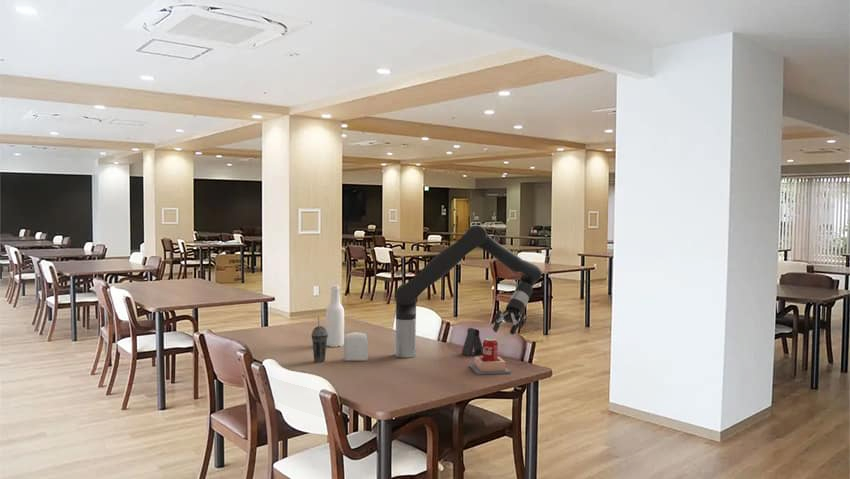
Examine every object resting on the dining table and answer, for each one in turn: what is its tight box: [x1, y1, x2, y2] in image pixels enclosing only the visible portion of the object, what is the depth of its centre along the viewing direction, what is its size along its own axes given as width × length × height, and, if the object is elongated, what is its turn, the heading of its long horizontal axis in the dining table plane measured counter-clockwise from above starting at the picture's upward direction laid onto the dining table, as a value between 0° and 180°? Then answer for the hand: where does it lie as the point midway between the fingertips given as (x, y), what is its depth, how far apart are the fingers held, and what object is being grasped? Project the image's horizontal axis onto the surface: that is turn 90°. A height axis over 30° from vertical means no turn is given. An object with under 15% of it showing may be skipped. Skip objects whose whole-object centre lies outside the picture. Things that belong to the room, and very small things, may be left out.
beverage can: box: [482, 337, 499, 362], centre depth 254 cm, size 6×6×12 cm
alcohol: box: [325, 284, 345, 348], centre depth 299 cm, size 9×9×30 cm
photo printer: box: [344, 331, 369, 362], centre depth 269 cm, size 10×4×12 cm, turn 89°
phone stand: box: [461, 327, 483, 357], centre depth 283 cm, size 9×6×12 cm, turn 118°
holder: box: [469, 355, 512, 376], centre depth 254 cm, size 14×14×4 cm
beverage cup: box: [311, 316, 328, 364], centre depth 265 cm, size 7×7×20 cm
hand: (502, 332), depth 260 cm, fingers open, 8 cm apart
